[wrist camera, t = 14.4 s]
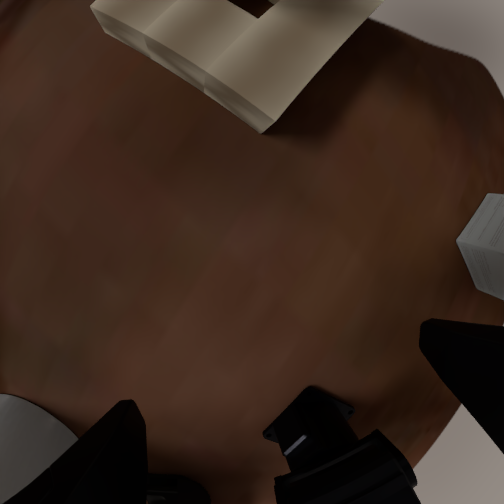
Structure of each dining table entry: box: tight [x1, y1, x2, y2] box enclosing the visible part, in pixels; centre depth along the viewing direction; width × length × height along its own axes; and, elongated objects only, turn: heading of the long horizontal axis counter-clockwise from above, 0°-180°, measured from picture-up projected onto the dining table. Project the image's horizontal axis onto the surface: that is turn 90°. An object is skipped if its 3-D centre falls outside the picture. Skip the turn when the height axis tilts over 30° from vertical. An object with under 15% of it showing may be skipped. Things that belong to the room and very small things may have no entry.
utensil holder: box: [0, 394, 78, 504], centre depth 12 cm, size 15×15×18 cm
